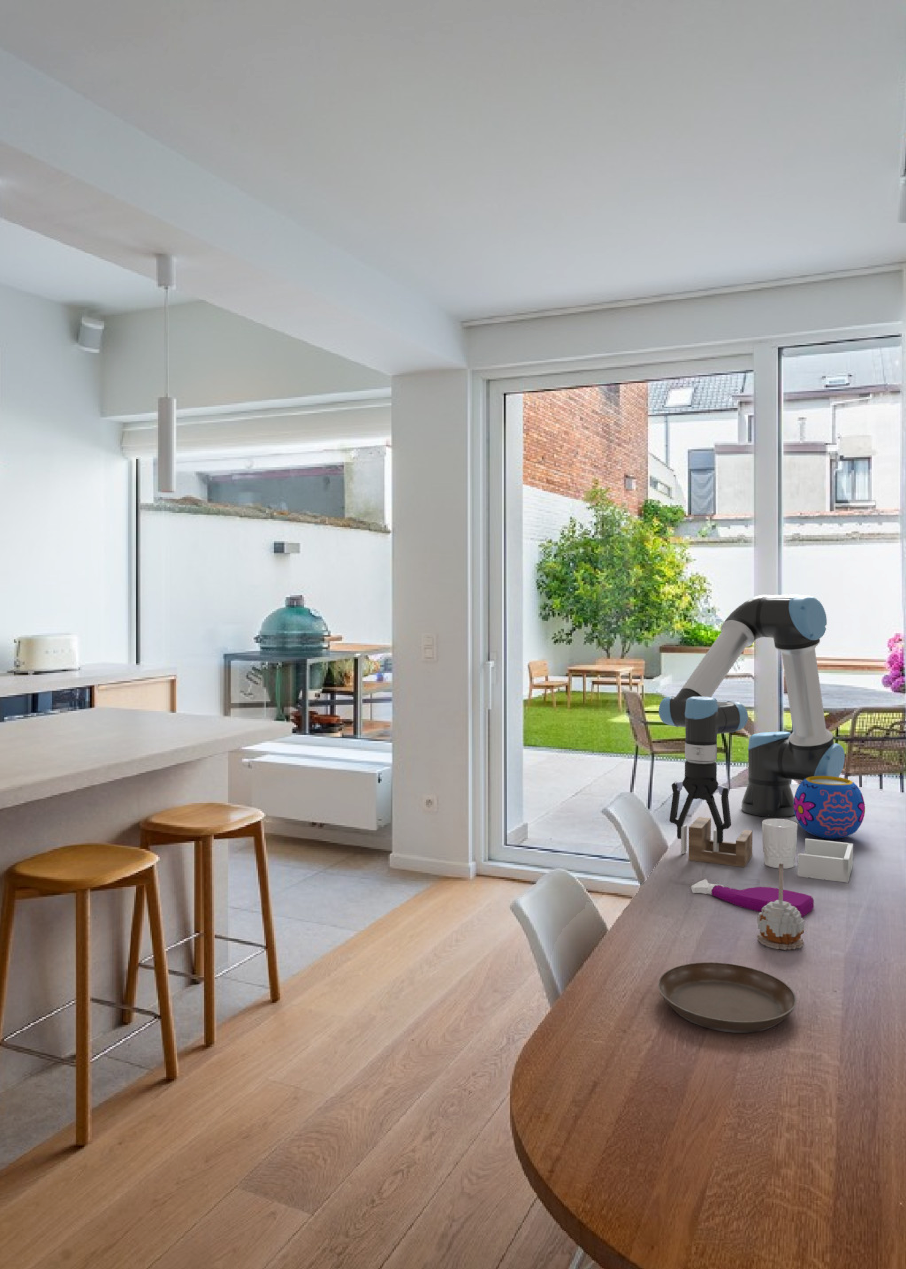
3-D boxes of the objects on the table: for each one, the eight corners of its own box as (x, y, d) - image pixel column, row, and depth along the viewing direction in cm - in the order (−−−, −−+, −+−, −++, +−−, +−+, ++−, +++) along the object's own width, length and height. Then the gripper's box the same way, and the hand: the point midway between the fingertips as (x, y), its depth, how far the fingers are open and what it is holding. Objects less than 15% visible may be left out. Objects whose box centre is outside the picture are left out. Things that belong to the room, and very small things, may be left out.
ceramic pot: (851, 828, 254) (852, 773, 253) (874, 846, 237) (875, 787, 236) (785, 827, 256) (785, 772, 255) (802, 845, 238) (803, 786, 237)
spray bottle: (797, 923, 184) (682, 898, 200) (817, 908, 193) (706, 886, 209) (797, 908, 184) (682, 884, 200) (817, 894, 192) (706, 872, 209)
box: (805, 858, 226) (805, 838, 226) (852, 864, 221) (853, 843, 221) (797, 876, 213) (798, 854, 213) (848, 882, 208) (848, 860, 208)
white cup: (790, 871, 216) (791, 828, 216) (756, 865, 221) (757, 823, 220) (801, 863, 222) (802, 821, 222) (768, 858, 227) (768, 817, 227)
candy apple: (767, 933, 178) (768, 855, 177) (808, 943, 173) (810, 862, 172) (751, 945, 172) (752, 864, 171) (793, 956, 167) (795, 872, 166)
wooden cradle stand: (698, 848, 236) (698, 816, 235) (752, 854, 230) (752, 822, 229) (688, 860, 226) (688, 827, 225) (744, 867, 220) (744, 833, 220)
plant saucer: (808, 1046, 135) (808, 1023, 135) (660, 1035, 138) (661, 1013, 138) (783, 986, 155) (783, 966, 155) (655, 977, 159) (655, 958, 159)
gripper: (656, 759, 230) (655, 852, 231) (740, 766, 221) (739, 863, 222) (663, 755, 237) (662, 845, 238) (745, 761, 228) (744, 855, 229)
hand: (699, 854), depth 230 cm, fingers open, 7 cm apart
